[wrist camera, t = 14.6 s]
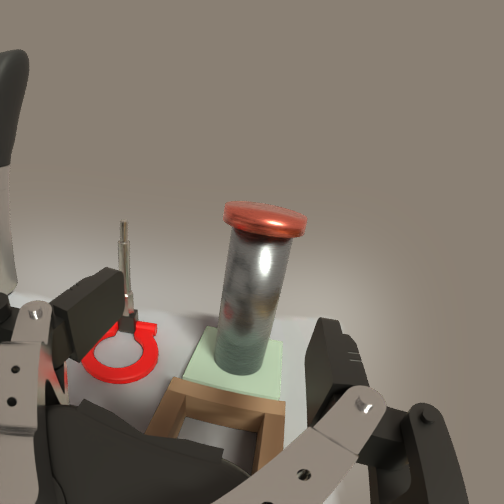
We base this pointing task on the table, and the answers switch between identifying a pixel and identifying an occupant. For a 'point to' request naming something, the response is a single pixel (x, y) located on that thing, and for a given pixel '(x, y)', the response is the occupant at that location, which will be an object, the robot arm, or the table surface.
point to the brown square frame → (222, 415)
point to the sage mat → (255, 384)
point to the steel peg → (253, 281)
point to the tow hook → (126, 329)
